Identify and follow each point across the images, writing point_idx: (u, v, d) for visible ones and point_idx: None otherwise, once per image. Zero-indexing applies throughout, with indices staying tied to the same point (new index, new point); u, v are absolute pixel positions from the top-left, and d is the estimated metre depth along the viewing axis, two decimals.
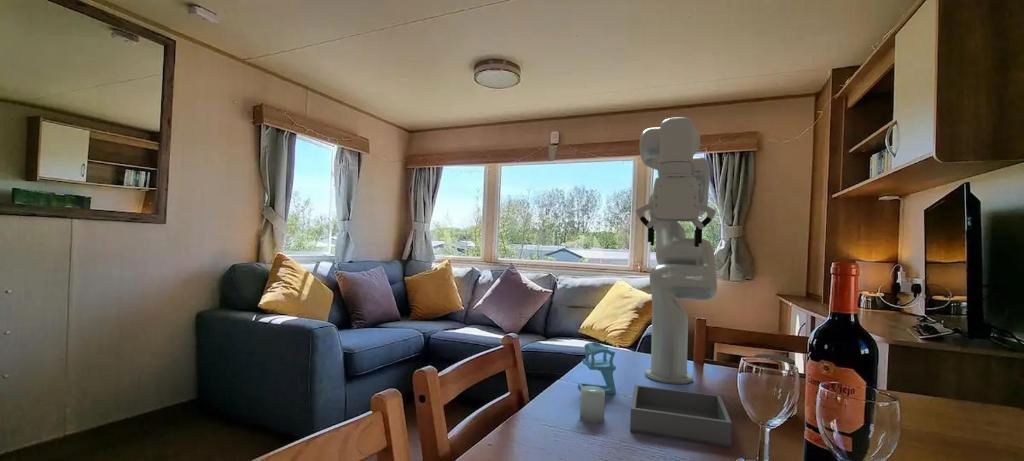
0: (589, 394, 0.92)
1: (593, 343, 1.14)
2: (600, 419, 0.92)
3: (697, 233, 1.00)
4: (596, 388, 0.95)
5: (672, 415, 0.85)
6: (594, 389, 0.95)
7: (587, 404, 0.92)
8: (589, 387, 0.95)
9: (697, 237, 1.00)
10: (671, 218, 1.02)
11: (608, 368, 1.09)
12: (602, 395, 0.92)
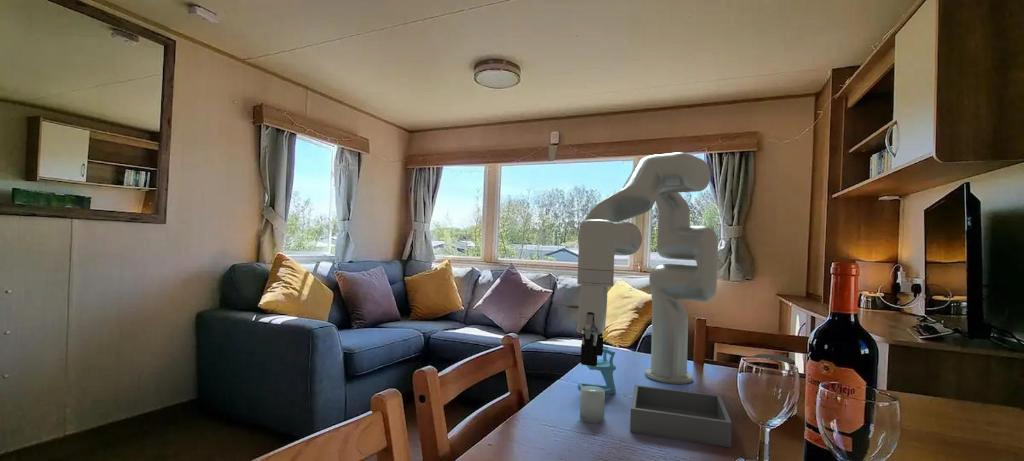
0: (589, 394, 0.92)
1: None
2: (600, 419, 0.92)
3: (602, 342, 0.98)
4: (596, 388, 0.95)
5: (672, 415, 0.85)
6: (594, 389, 0.95)
7: (587, 404, 0.92)
8: (589, 387, 0.95)
9: (602, 346, 0.98)
10: (602, 331, 0.93)
11: (608, 368, 1.09)
12: (602, 395, 0.92)
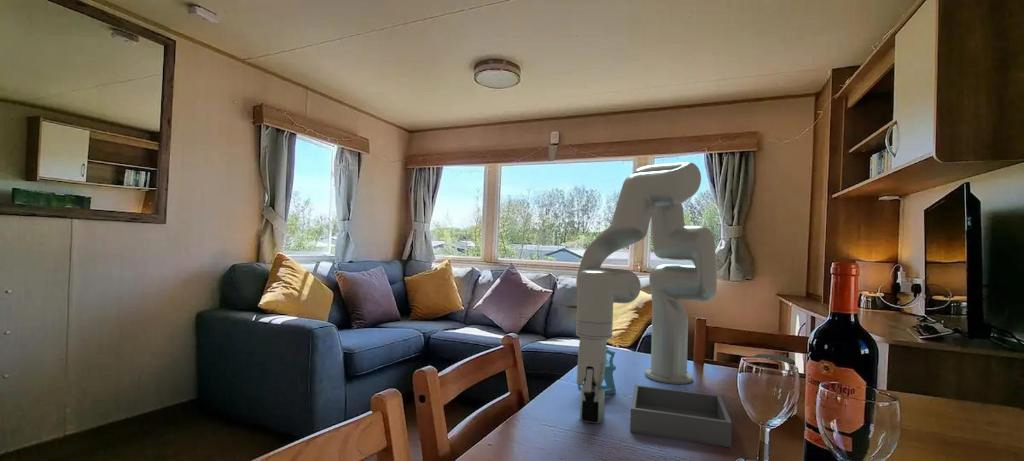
0: None
1: None
2: (600, 419, 0.92)
3: None
4: None
5: (672, 415, 0.85)
6: None
7: None
8: None
9: None
10: (601, 382, 0.93)
11: (608, 368, 1.09)
12: (602, 395, 0.92)
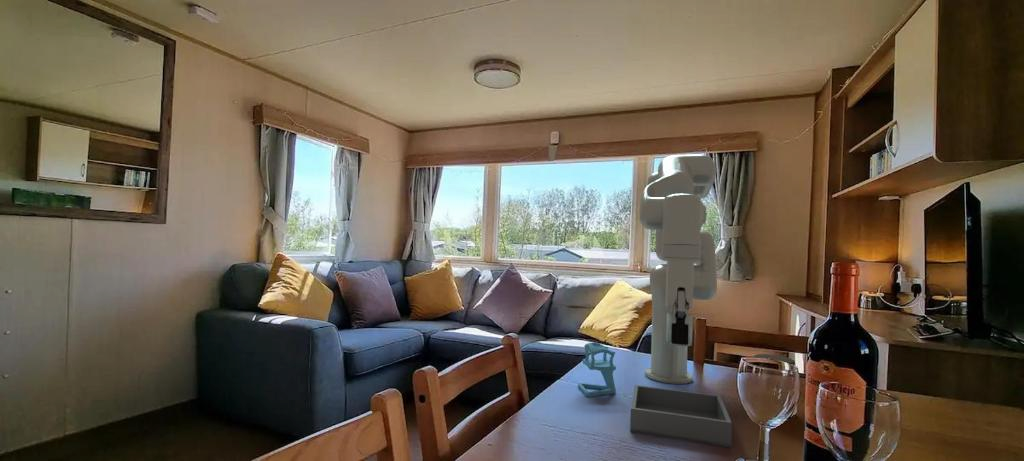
0: None
1: (593, 343, 1.14)
2: (689, 342, 0.91)
3: None
4: None
5: (672, 415, 0.85)
6: None
7: None
8: None
9: None
10: None
11: (608, 368, 1.09)
12: (691, 318, 0.91)
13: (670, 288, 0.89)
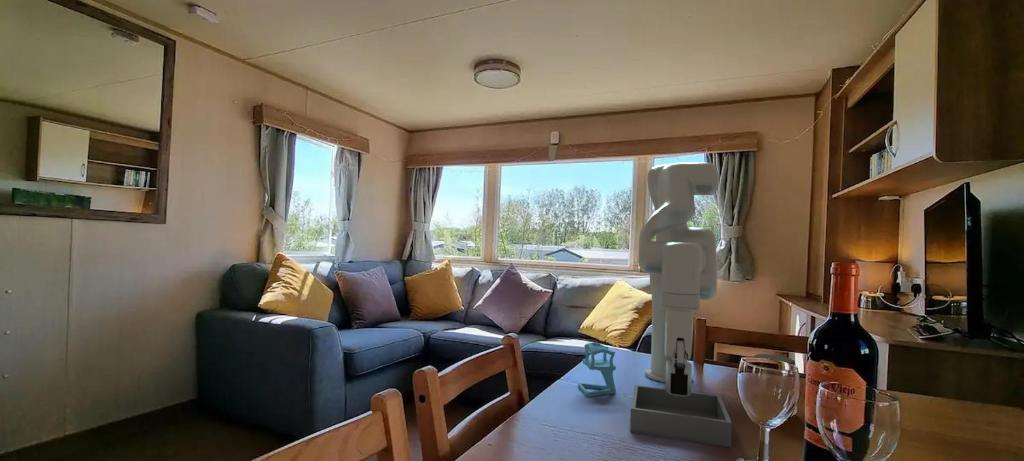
0: None
1: (593, 343, 1.14)
2: (688, 392, 0.90)
3: None
4: None
5: (672, 415, 0.85)
6: None
7: None
8: None
9: None
10: None
11: (608, 368, 1.09)
12: (690, 368, 0.91)
13: (669, 338, 0.89)
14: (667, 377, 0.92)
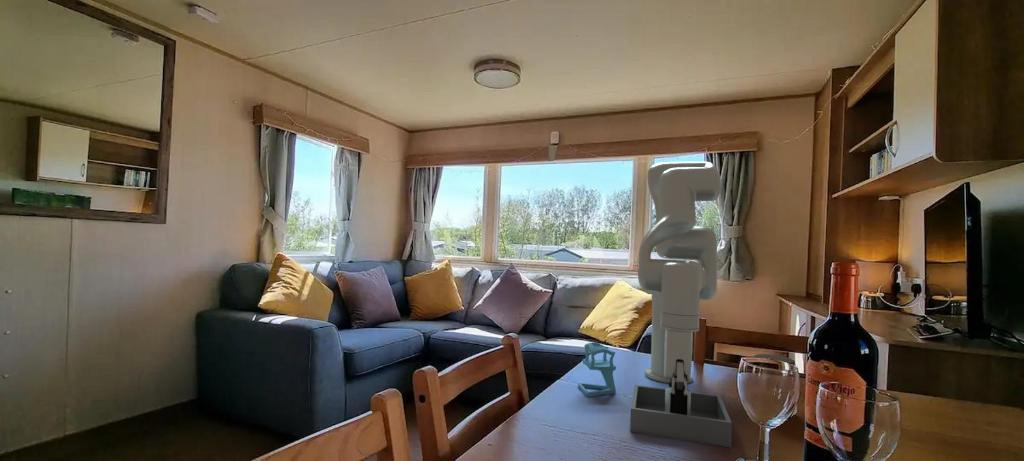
0: None
1: (593, 343, 1.14)
2: None
3: None
4: None
5: (672, 415, 0.85)
6: None
7: None
8: None
9: None
10: None
11: (608, 368, 1.09)
12: (689, 397, 0.91)
13: (669, 359, 0.89)
14: (666, 405, 0.92)
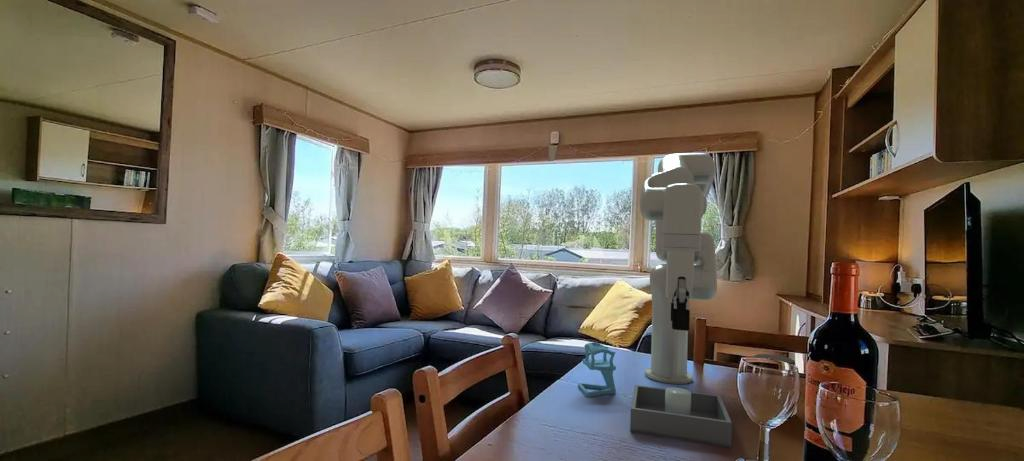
0: (677, 396, 0.90)
1: (593, 343, 1.14)
2: None
3: None
4: (681, 390, 0.93)
5: (672, 415, 0.85)
6: (679, 390, 0.93)
7: (675, 406, 0.91)
8: (673, 389, 0.94)
9: None
10: None
11: (608, 368, 1.09)
12: (689, 397, 0.91)
13: (670, 277, 0.89)
14: (666, 405, 0.92)
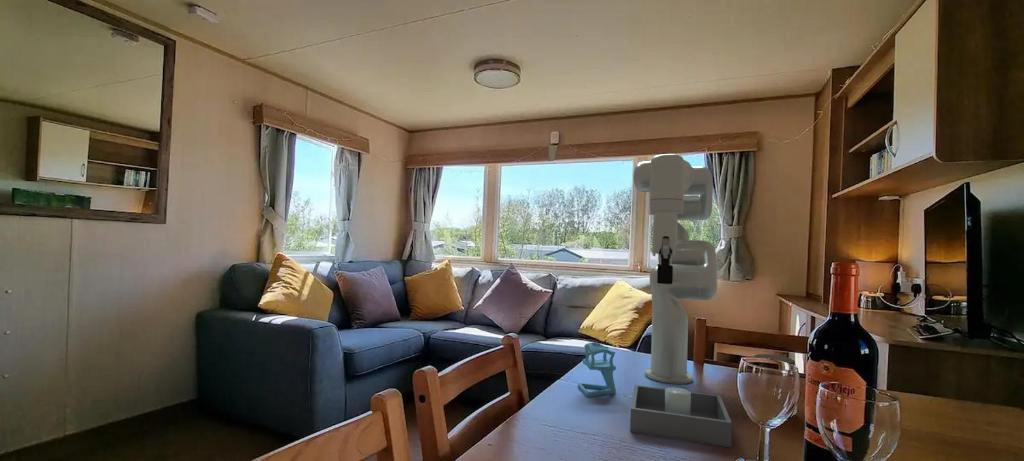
0: (676, 396, 0.90)
1: (593, 343, 1.14)
2: None
3: None
4: (681, 390, 0.93)
5: (672, 415, 0.85)
6: (679, 390, 0.93)
7: (675, 406, 0.91)
8: (673, 389, 0.94)
9: None
10: None
11: (608, 368, 1.09)
12: (689, 397, 0.91)
13: (656, 237, 1.00)
14: (666, 406, 0.92)
